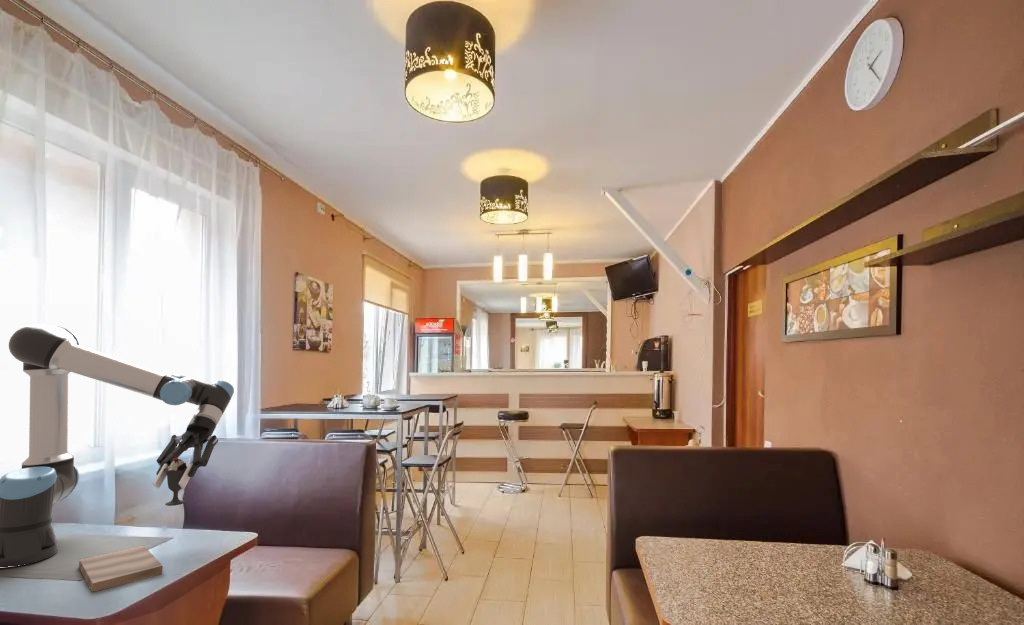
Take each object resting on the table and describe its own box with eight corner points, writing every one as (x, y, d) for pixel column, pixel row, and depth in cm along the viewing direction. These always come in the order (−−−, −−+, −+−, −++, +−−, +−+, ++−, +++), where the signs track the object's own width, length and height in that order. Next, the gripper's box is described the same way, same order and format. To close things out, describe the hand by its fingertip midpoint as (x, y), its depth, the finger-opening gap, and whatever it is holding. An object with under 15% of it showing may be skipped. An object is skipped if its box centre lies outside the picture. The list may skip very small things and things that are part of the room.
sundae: (163, 501, 150) (167, 450, 151) (189, 499, 152) (193, 449, 154) (158, 507, 144) (162, 454, 145) (186, 505, 146) (189, 453, 148)
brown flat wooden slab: (78, 567, 132) (79, 559, 132) (143, 552, 142) (143, 545, 142) (91, 592, 118) (92, 583, 118) (162, 573, 128) (162, 565, 129)
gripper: (238, 429, 166) (207, 493, 148) (178, 428, 165) (139, 492, 147) (231, 415, 161) (198, 479, 143) (169, 414, 160) (128, 478, 142)
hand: (168, 485), depth 145 cm, fingers closed on sundae, 6 cm apart
